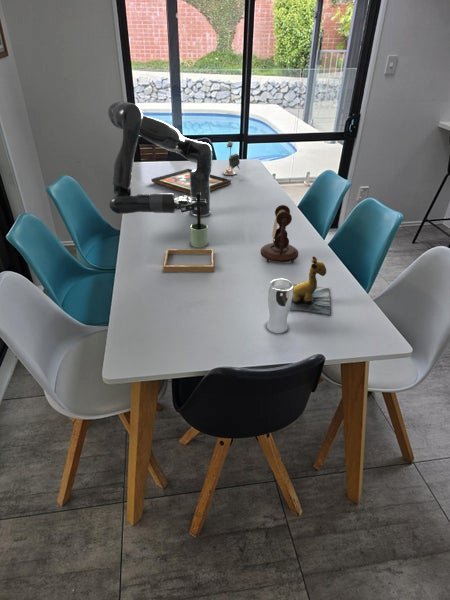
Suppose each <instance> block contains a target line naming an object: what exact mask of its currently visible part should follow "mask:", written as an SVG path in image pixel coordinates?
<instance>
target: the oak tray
mask: <svg viewBox="0 0 450 600" xmlns="http://www.w3.org/2000/svg"><path fill="white" fill-rule="evenodd" d="M169 255H211V264H168V259H169ZM162 267H163V272H164V273H214V249H213V248H166V251H165V256H164V261H163V266H162Z"/></svg>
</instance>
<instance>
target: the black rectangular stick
mask: <svg viewBox="0 0 450 600" xmlns="http://www.w3.org/2000/svg"><path fill="white" fill-rule="evenodd" d="M197 201H200V193H197ZM196 223H197V230H201V223H202V217H201V208H200V207H197V217H196Z"/></svg>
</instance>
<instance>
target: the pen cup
mask: <svg viewBox="0 0 450 600" xmlns="http://www.w3.org/2000/svg"><path fill="white" fill-rule="evenodd" d="M189 228H190V229H189V234H190V246H191V247H195V248H204V247H206V246H207V245H208V244H209V241H208V239H209V237H208V235H209V234H208V231H209V230H208V229H209V228H208V225H207V224H206V223H202V222H201V230H197V222H196V223H193V224H190V226H189Z"/></svg>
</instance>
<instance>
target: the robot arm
mask: <svg viewBox="0 0 450 600" xmlns="http://www.w3.org/2000/svg"><path fill="white" fill-rule="evenodd" d="M107 109H108V110H107V115H108V119H109V122H110V123H111V124H112V125H113V126H114V127H116V128H117V129H121V130H122V142H121V145H120V147H119V150H118V152H117V154H116V156H115V158H114V161H113V166H112V185H113V196H112V197H111V198H110V200H109V203H108V204H109V208H110V210H111V211H112V212H113V213H116V214H120V215H124V214H125V215H126V214H134V213H155V214H174V213H175V212H176V210H179V211H180V212H181V213H186V212H189V213H190V215H191V216H193V217H196V218H197V207H200V208H201V218H205V217H208V216H210V215H211V191H210V175H211V173H212V163H213V149H212V146H211V145H210V144H209V143H207V142H203V141H198V140H194V139H191V138H187V137H185V136H183V135H182V134H181V132H180V131H179V129H177V128H175V127H174V126H173V125H170V124H169V123H167V122H165V121H162V120H159V119H157V118H153V117H151V116H147V115H144V114H143V113H142V109H141V108H140V107H139V106H138V105H137V104H135V103H132V102H127V101H122V100H117V101H114V102H112V103H111V104H110V105H109V107H108V108H107ZM140 137H141V138H143V139H144V140H146V141H148V142H150V143H152V144H154V145H156V146H157V147H160V148H162V149H164V150H167V151H170V152H172V153H176V154H179V155H180V156H182V157H183V158H184V159H186V160H187V161H189V162H191V163H194V164H196V169H192V170H193V171H191V172H190V194H188V195H187V194H182V196H179V197H175V194H174V193H171V192H167V193H161V192H160V193H159V192H156V193H138V194H136V195H132V188H131V185H132V179H133V166H134V160H135V154H136V151H137V146H138V142H139V138H140ZM197 193H200V201H197Z"/></svg>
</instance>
